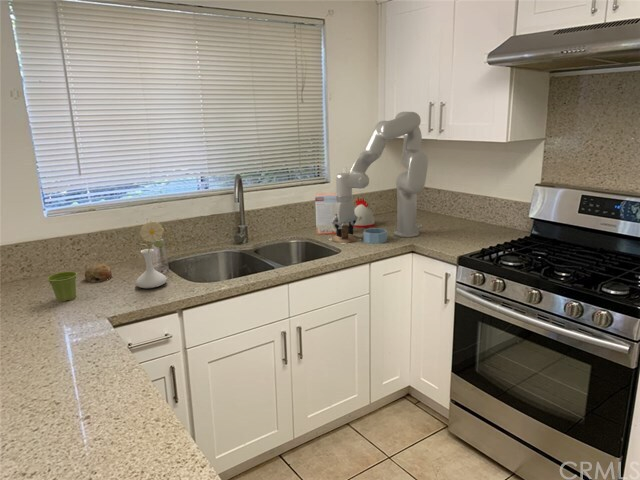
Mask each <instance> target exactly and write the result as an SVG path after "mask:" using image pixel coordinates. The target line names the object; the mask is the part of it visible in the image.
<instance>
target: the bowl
mask: <svg viewBox="0 0 640 480" xmlns="http://www.w3.org/2000/svg"><path fill="white" fill-rule="evenodd" d="M363 242H364V243H368V244H384V243H387V242H388V230H387V229H386V228H385V229H384V228H380V227H379V228H378V227H377V228H375V227H371V228H364V230H363Z"/></svg>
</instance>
